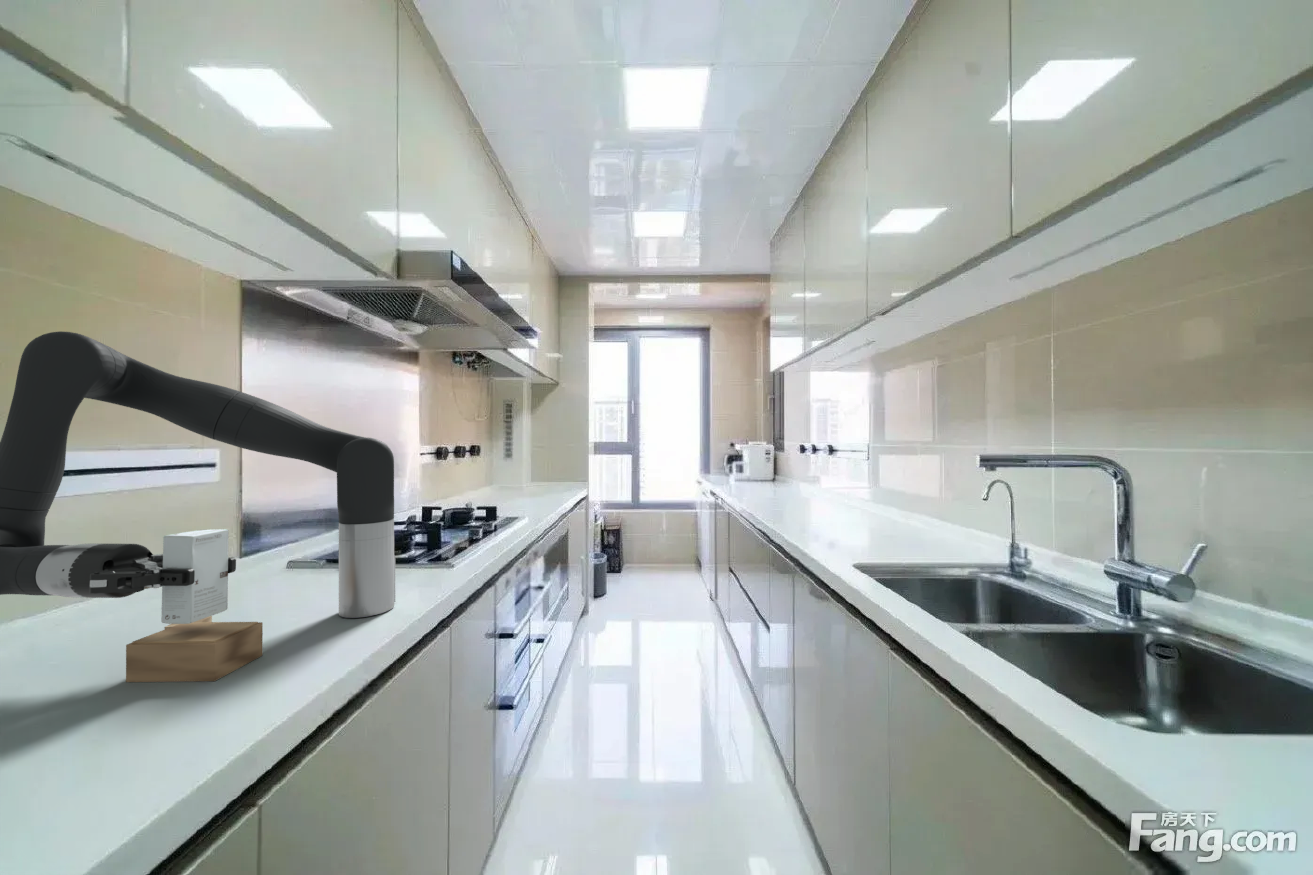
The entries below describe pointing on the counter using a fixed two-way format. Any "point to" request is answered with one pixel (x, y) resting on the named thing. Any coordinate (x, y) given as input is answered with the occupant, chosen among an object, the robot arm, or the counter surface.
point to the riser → (193, 652)
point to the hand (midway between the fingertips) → (213, 570)
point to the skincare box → (196, 575)
